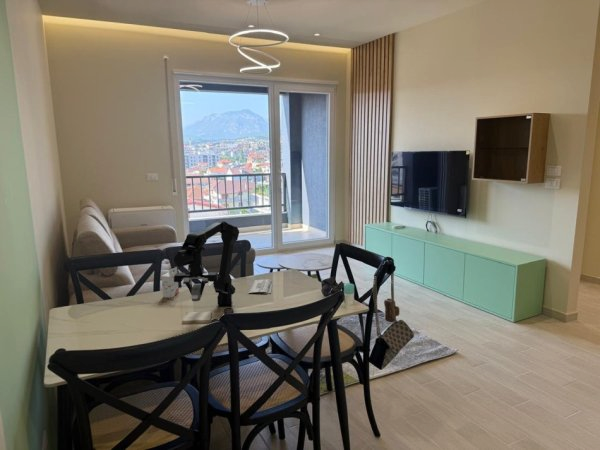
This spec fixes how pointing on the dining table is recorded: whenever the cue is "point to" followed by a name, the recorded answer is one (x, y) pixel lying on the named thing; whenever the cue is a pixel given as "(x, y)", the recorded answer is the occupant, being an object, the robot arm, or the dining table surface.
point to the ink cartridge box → (169, 284)
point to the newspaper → (261, 286)
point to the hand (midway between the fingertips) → (196, 295)
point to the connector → (196, 292)
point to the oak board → (197, 317)
